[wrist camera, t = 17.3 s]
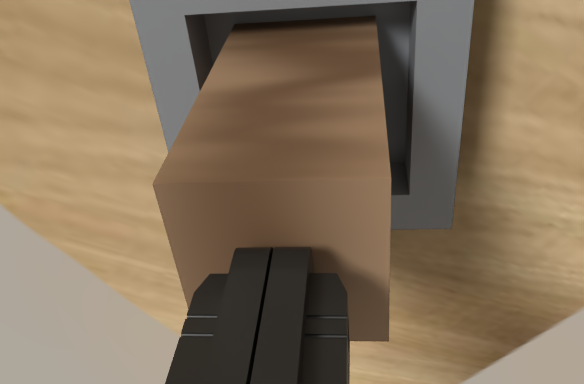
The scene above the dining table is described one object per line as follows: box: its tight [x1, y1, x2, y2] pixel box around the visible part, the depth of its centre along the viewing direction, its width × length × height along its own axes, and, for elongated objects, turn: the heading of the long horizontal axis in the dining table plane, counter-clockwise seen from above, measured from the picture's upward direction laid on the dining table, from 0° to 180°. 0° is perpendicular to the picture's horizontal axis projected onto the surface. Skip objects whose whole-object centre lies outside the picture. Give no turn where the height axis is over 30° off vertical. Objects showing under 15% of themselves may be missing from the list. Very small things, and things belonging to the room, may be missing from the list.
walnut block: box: [153, 16, 391, 342], centre depth 15 cm, size 4×4×9 cm
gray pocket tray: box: [129, 0, 474, 230], centre depth 18 cm, size 10×10×2 cm
